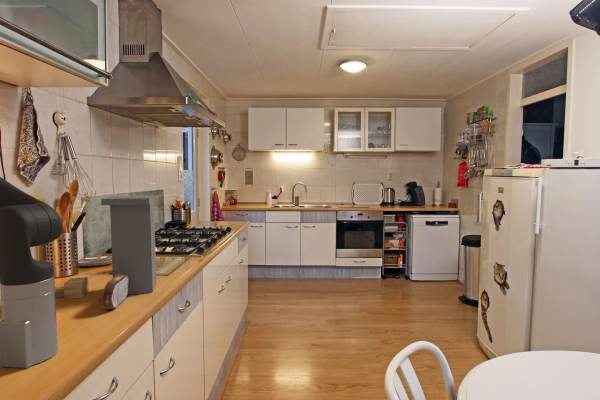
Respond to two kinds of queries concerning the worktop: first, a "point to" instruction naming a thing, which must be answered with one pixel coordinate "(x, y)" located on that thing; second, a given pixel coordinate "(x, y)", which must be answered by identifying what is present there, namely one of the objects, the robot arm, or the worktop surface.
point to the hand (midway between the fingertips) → (36, 212)
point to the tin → (115, 291)
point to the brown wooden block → (74, 287)
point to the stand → (133, 240)
